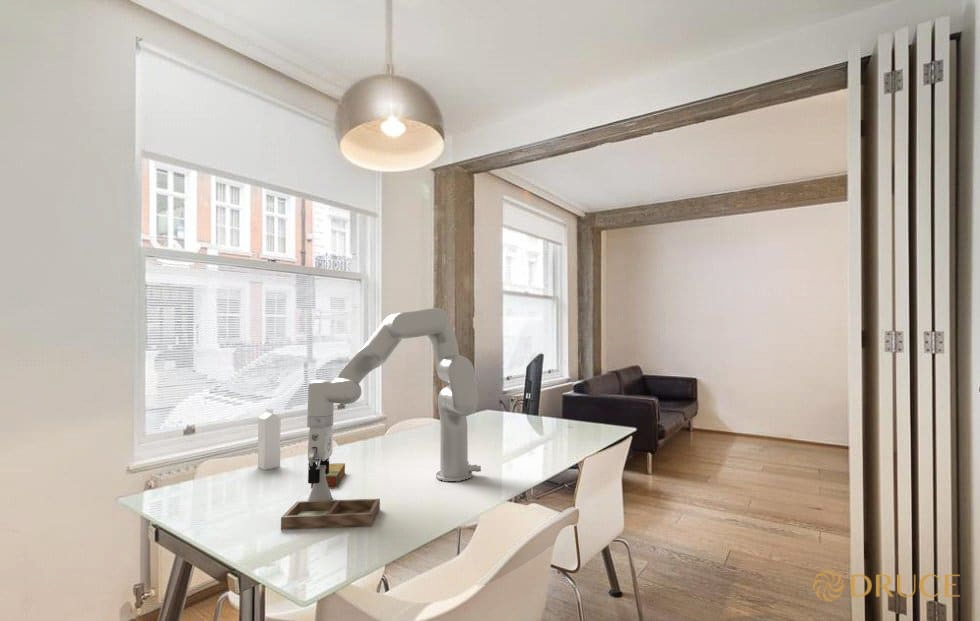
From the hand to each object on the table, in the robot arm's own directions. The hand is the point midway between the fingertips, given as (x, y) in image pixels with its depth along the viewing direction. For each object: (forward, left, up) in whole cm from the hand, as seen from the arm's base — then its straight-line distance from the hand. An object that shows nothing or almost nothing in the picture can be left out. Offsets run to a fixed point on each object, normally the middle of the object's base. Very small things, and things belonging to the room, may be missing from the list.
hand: (318, 478), depth 145 cm
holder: (-8, +16, -7) cm, 19 cm away
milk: (+31, -40, -7) cm, 51 cm away
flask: (0, 0, -7) cm, 7 cm away
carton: (+3, -20, -7) cm, 22 cm away
